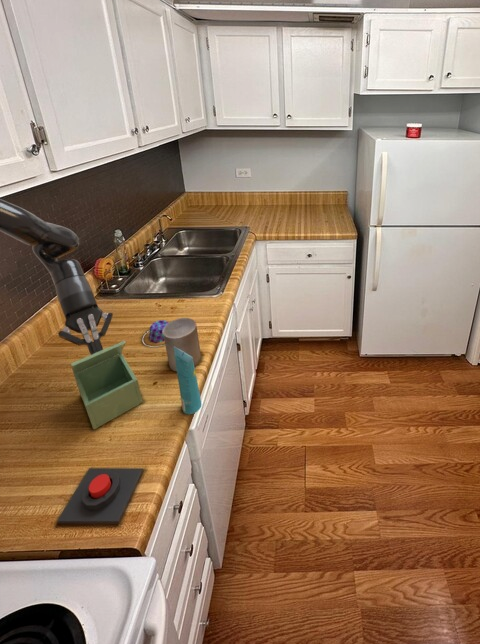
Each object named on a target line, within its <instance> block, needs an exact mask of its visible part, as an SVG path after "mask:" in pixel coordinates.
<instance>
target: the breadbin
mask: <svg viewBox="0 0 480 644" xmlns="http://www.w3.org/2000/svg"><path fill="white" fill-rule="evenodd" d="M73 377H74V380H75V382H76V385H77V388H78V391H79V395H80V397H81V399H82V402H83V405H84V408H85V411H86V413H87V416H88V419H89V421H90V424H91V428H92V429H93V431H94V430H96V429H98V428H99V427H101V426H103V425H105V424H106V423H108V422H111V421H112V420H114V419H116V418H118V417H119V416H121V415H123V414H125V413H127V412H128V411H130V410H131V409H133V408H135V407H137V406H139V405H141V404H143V403H144V402H143V397H142V392H141V389H140V385H139V381H138V378H137V377H136V375H135V373H134V371H133V370H132V368H131V366H130V365H129V363H128V362H127V360H126V358H125V356H124V355H123V352H122V353H121V354H118V355H116V356H114V357H112V358H109V359H107V360H105V361H103V362H100V363H98V364H96V365H94V366H92V367H89V368H87V369H85V370H83V371H80V372H78V373H76V374H73Z"/></svg>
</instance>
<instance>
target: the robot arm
mask: <svg viewBox="0 0 480 644" xmlns="http://www.w3.org/2000/svg"><path fill="white" fill-rule="evenodd" d="M0 232H1V233H3V234H5V235H7V236H9V237H11V238H13V239H14V240H16V241H19V242H21V243H22V244H24V245H28V246H30V247H31V249H32V252H33V254H34V255H35V257H36V258H37V259H38V260H39V261H40V262H41V264H43V266H44V267H45V268H46V270H47V271H48V273H49V274H50V277H51V280H52V282H53V285H54V288H55V294H56V296H57V300H58V303H59V305H60V307H61V311H62V314H63V317H64V319H65V322H64V327H63V328H62V330H60V331H58V333H57V334H58V338H60V339H62V340H64V341H66V342H70V343H72V344H74V345H76V346H87V349H88V351H89V355H92V354H94V353H97V352H99V351H101V350H104V346H103V344H102V341H101V338H103V337H105V336H106V334H107V331H108V329H109V327H110V324H111V323H112V319H113V317H114V314H113V312H103V310H102V309H101V308H100V307H99V306H98V302H97V300H96V297H95V294H94V293H93V289H92V287H91V285H90V282H89V281H88V279H87V277H86V275H85V272H84V270H83V267H82V265H81V263H80V261H79V260H77V259H75V258H68V259H63V260H59V259H60V258H61V257H63V256H65V255H69V254H70V253H73V252H74V251H76V250H77V249H78V248H79V246H80V243H81V242H80V238H79V236H78V234H77V233H76V232H75V231H73V230H72V229H70V228H68V227H65V226H63V225H59V224H55V223H52V222H48V221H45V220H43V219H42V218H40V217H39V216H37V215H36V214H34V213H32V212H30V211H28V210H27V209H24V208H23V207H20V206H18V205H16V204H13V203H11V202H9V201H6V200H4V199H1V198H0ZM101 319H102V321H103V322H104V323H103V325H102V327H101V329H100V331H99V332H98V326H99V324H100V322H101ZM71 331H73V332H75V333H77V334H81V336H82V338H81V337H78V336H75V335H73V334H72V332H71ZM89 331H90V333H89ZM90 334H91V335H90ZM91 336H92V337H91Z"/></svg>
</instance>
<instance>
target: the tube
mask: <svg viewBox="0 0 480 644" xmlns="http://www.w3.org/2000/svg"><path fill="white" fill-rule="evenodd" d="M174 354H175V362H176V369H177V371H176V375H177V381H178V382H177V383H178V387H179V396H180V402H181V408H182V412H183V414H185V415H194V414H196V413H197V412H198V411H199V410H200V409H201V408H202V398H201V394H200V389H199V384H198V378H197V373H196V367H194V363H193V357H191V356H190V355H188V354H186V353H185V352H183V351H181V350H180V349H178V348H176V347H174Z"/></svg>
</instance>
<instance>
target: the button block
mask: <svg viewBox="0 0 480 644" xmlns="http://www.w3.org/2000/svg"><path fill="white" fill-rule="evenodd" d="M143 473H144V469H143V468H130V467H129V468H127V467H126V468H125V467H123V468H121V467H120V468H116V467H115V468H113V467H110V468H104V467H103V468H95V467H94V468H93V467H91V468H88V470H87V471H86V473H85V474H84V476H83V478H82V480H81V481H80V483H79V484H78V485H77V487H76V489H75V491H74V492H73V494H72V496H71V497H70V499H69V500H68V502H67V504H66V505H65V506H64V508H63V510H62V512H61V514H60V515H59V517H58V518H57V520H56V522H57V525H120V523H121V521H122V519H123V518H124V515H125V513H126V510H127V508H128V506H129V504H130V502H131V499H133V498H132V497H133V495H134V493H135V491H136V490H137V487H138V485H139V482H140V480H141V478H142V476H143ZM102 474H106V475H108V476H109V478H110V481H111V487H110V489H109V490H108V492H107V493H106V494H105V495H103V496H102V497H100V498H93V497H92V496H91V494H90V491H89V485H90V483H91V482H92V481H93V479H95V478H96V477H97V476H99V475H102Z"/></svg>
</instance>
